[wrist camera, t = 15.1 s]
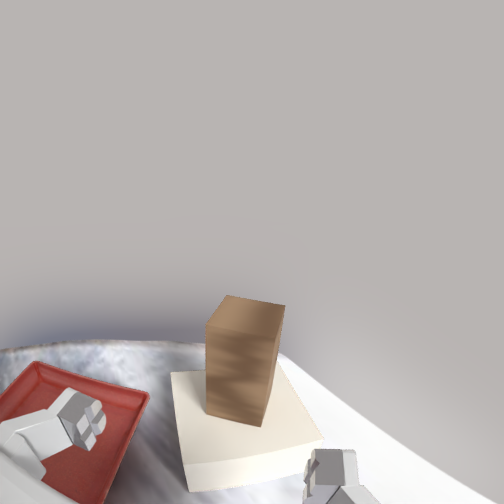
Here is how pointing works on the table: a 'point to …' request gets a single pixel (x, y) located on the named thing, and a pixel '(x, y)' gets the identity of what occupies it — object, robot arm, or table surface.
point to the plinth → (241, 436)
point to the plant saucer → (73, 458)
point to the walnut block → (242, 358)
